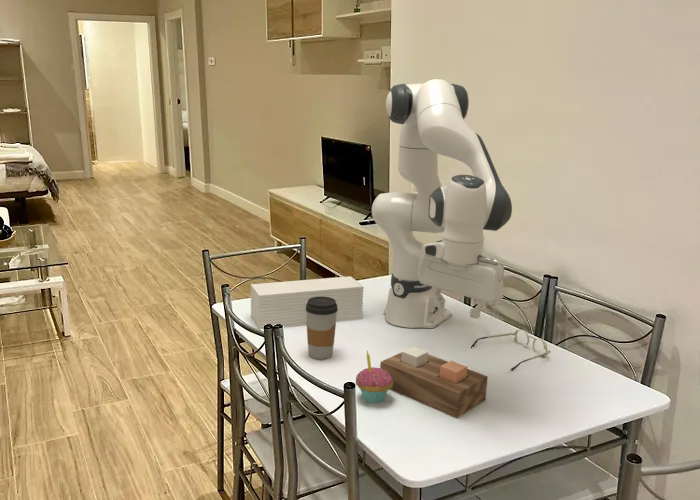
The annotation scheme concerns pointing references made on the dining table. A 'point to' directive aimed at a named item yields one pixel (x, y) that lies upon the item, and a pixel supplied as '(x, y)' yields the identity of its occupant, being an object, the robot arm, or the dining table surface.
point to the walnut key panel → (436, 385)
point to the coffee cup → (321, 326)
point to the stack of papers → (304, 300)
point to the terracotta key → (453, 372)
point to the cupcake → (374, 383)
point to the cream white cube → (414, 357)
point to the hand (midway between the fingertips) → (456, 311)
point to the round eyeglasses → (517, 342)
